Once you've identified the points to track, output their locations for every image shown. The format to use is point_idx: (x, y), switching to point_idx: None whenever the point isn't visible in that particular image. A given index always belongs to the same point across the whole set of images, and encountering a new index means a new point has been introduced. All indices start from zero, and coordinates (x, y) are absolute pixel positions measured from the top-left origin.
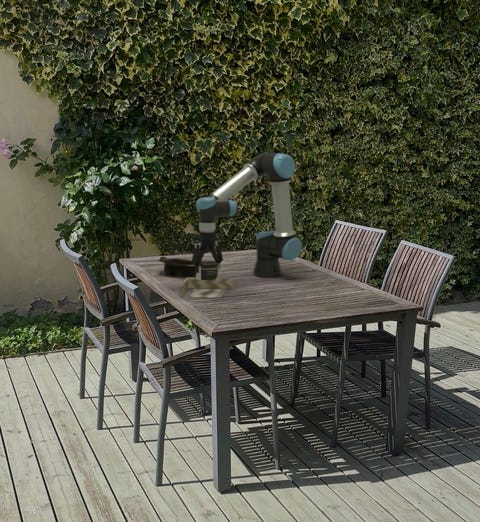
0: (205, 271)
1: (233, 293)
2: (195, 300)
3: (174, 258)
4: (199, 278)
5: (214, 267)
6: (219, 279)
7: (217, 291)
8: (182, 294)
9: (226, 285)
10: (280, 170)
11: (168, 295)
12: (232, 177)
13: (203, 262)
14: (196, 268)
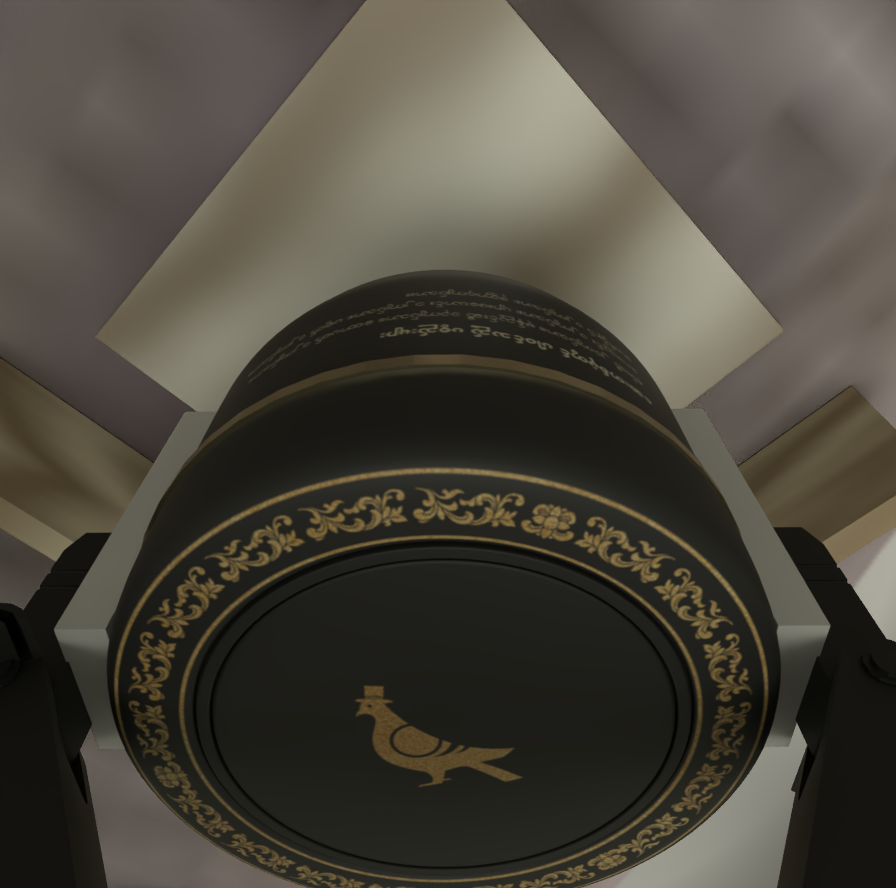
0: (672, 427)
1: (64, 74)
2: (887, 98)
3: None
4: (712, 428)
5: (414, 379)
6: (78, 533)
7: (264, 314)
8: (830, 425)
9: (17, 413)
10: None
11: (873, 552)
12: None
13: (533, 792)
14: (858, 619)
